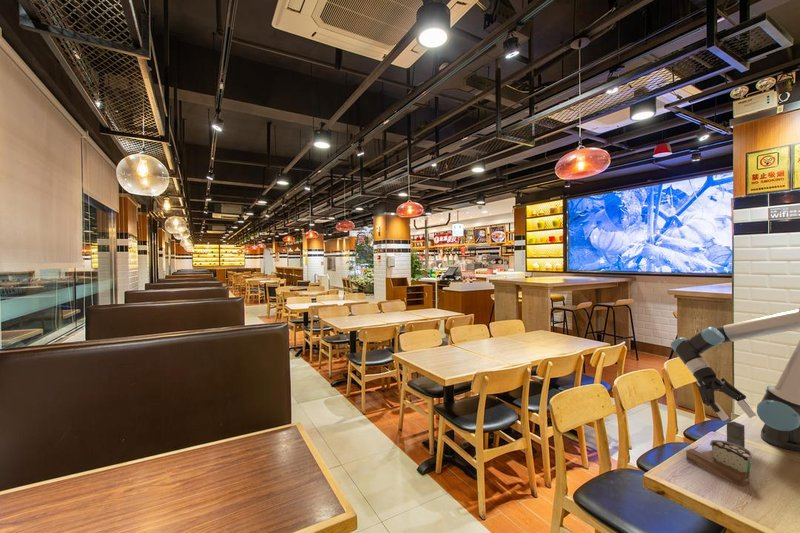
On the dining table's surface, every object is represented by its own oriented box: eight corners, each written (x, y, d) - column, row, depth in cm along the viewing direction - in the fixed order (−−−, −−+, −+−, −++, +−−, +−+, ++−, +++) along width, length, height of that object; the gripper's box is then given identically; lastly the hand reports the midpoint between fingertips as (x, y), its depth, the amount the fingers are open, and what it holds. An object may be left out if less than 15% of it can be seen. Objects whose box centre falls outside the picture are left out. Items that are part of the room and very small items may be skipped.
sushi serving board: (733, 448, 142) (733, 421, 142) (790, 472, 125) (790, 442, 125) (686, 458, 135) (686, 430, 135) (739, 486, 119) (739, 453, 118)
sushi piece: (763, 483, 120) (762, 454, 120) (750, 486, 118) (750, 457, 118) (721, 463, 132) (721, 437, 132) (709, 466, 130) (709, 439, 130)
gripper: (717, 372, 161) (756, 418, 146) (672, 376, 156) (707, 424, 141) (729, 364, 155) (771, 411, 141) (683, 368, 151) (722, 417, 136)
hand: (739, 418), depth 141 cm, fingers open, 13 cm apart
